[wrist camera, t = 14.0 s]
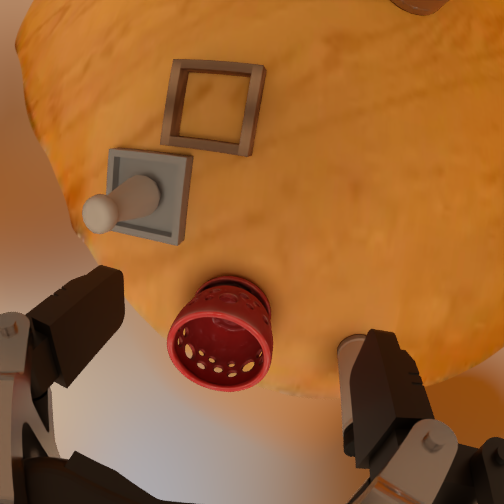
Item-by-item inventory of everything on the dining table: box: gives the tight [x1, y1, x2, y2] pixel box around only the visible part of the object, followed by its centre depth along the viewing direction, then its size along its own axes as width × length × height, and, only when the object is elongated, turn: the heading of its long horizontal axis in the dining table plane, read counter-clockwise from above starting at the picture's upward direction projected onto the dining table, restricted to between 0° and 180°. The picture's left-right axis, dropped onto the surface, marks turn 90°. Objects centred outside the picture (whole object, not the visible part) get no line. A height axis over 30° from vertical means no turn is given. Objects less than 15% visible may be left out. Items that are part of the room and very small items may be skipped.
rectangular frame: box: [160, 59, 266, 157], centre depth 36 cm, size 11×11×3 cm
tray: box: [106, 148, 193, 246], centre depth 42 cm, size 12×12×2 cm
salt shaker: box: [82, 175, 161, 234], centre depth 36 cm, size 6×6×13 cm
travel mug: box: [337, 335, 366, 457], centre depth 37 cm, size 6×7×20 cm
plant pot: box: [167, 276, 273, 392], centre depth 41 cm, size 13×13×12 cm
